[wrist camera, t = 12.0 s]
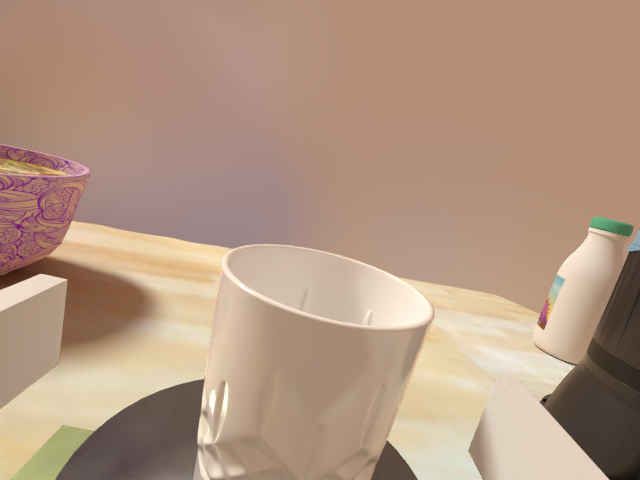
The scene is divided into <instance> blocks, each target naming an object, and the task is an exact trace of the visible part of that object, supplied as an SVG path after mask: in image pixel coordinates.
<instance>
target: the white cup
mask: <svg viewBox="0 0 640 480" xmlns="http://www.w3.org/2000/svg"><path fill="white" fill-rule="evenodd" d="M433 319H434V309H433V306H432V304H431V303H430V301H429V300H428V299H427V298H426V297H425V296H424V295H423V294H422V293H421V292H419V291H418V290H417V289H415V288H414V287H413V286H411V285H410V284H408V283H406V282H405V281H403V280H401V279H399V278H397V277H395V276H393V275H391V274H389V273H387V272H385V271H382V270H380V269H378V268H376V267H373V266H371V265H368V264H365V263H362V262H359V261H356V260H353V259H350V258H347V257H344V256H340V255H336V254H332V253H328V252H324V251H320V250H315V249H309V248H303V247H296V246H289V245H275V244H258V245H248V246H242V247H238V248H235V249H232V250H230V251H229V252H227V253H226V254H225V255H224V256H223V258H222V261H221V267H220V274H219V281H218V288H217V295H216V302H215V309H214V316H213V322H212V329H211V335H210V342H209V349H208V355H207V362H206V369H205V380H204V388H203V395H202V405H201V411H200V419H199V427H198V437H197V445H198V451H197V458H196V464H195V470H194V477H193V480H370V479H371V477H372V474H373V472H374V469H375V467H376V464H377V462H378V459H379V457H380V455H381V452H382V450H383V448H384V446H385V443H386V441H387V439H388V436H389V434H390V431H391V428H392V426H393V423H394V421H395V418H396V415H397V413H398V410H399V407H400V405H401V402H402V399H403V397H404V394H405V391H406V389H407V386H408V384H409V381H410V378H411V376H412V373H413V370H414V368H415V365H416V363H417V360H418V357H419V355H420V352H421V350H422V347H423V344H424V342H425V339H426V337H427V334H428V332H429V329H430V326H431V324H432V321H433Z"/></svg>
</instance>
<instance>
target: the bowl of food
mask: <svg viewBox="0 0 640 480" xmlns="http://www.w3.org/2000/svg"><path fill="white" fill-rule="evenodd" d="M89 175H90V169H88V168H86V167H85V166H83V165H81V164H79V163H76V162H73V161H70V160H67V159H64V158H60V157H56V156H53V155H49V154H45V153H41V152H36V151H32V150H27V149H22V148H18V147H13V146H8V145H2V144H0V276H2V275H5V274H7V273H9V272H11V271H12V270H15V269H18V268H22V267H25V266H27V265H30V264H32V263H35V262H37V261H40V260H41V259H43V258H45V257H46V256H48V255H49V254H51V253H52V252H53V251H54V250H55V249H56V248H57V247H58V246H59V245H60V244H61V243H62V241H63V239H64V237H65V235H66V233H67V231H68V228H69V226H70V224H71V221H72V219H73V216H74V214H75V212H76V209H77V206H78V203H79V201H80V198H81V196H82V194H83V191H84V189H85V186H86V183H87V180H88V178H89Z"/></svg>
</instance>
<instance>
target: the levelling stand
mask: <svg viewBox="0 0 640 480" xmlns="http://www.w3.org/2000/svg"><path fill="white" fill-rule="evenodd" d="M204 380H205V379H203V380H196V381H192V382H188V383H183V384H179V385H176V386H173V387H170V388H167V389H164V390H161V391H159V392H156V393H154V394H152V395H149V396H147V397H145V398H143V399H141V400H139V401H137V402H135V403H134V404H132V405H130V406H128V407H126V408H125V409H123V410H122V411H120V412H119V413H117V414H116V415H115V416H113V417H112V418H110V419H109V420H107V421H106V422H105V423H104V424H103V425H102V426H100V427H99V428H98V429H97V430H96V431H90V430H85V429H80V428H75V427H70V426H64V425H62V426H61V427H60V428H59V429H58V430H57V432H56V433H55V434H54V435H53V436H52V437H51V438H50V439H49V440H48V441H47V442H46V443H45V444H44V445H43V446H42V447H41V448H40V449H39V450H38V452H37V453H36V454H35V455H34V456H33V457H32V458H31V459H30V460H29V461H28V462H27V463H26V464H25V465H24V466H23V467H22V468H21V469H20V470H19V472H18V473H17V474H16V475H15V476H14V477H13V478H12V479H11V480H193V477H194V470H195V464H196V458H197V451H198V445H197V437H198V427H199V419H200V411H201V405H202V395H203V388H204ZM370 480H418V479H417V478H416V476H415V474H414V473H413V471H412V470H411V468H410V467H409V465H408V464H407V463H406V461H405V460H404V459H403V458H402V456H401V455H400V454H399V453H398V451H397V450H396V449H395V448H394V447H393V446H392V445H391V444H390V443H389V442H388V441H386V443H385V446H384V448H383V450H382V452H381V455H380V457H379V459H378V462H377V464H376V467H375V469H374V472H373V474H372V477H371V479H370Z"/></svg>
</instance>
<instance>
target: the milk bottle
mask: <svg viewBox="0 0 640 480" xmlns="http://www.w3.org/2000/svg"><path fill="white" fill-rule="evenodd" d="M591 227H593V228H591ZM595 228H597V229H595ZM599 229H601V230H599ZM603 230H605V231H603ZM588 231H589V234H588V237H587V238H586V240H585V241H584V242H583V244H582V245H581V246H580V247H579V248H578V249H577V250H576V251H575V252H574V253H572V254H571V255H570V256H569V257H568V258H567V259H566V260H565V262H564V263H563V264H562V266H561V268H560V269H559V271H558V273H557V276H556V278H555V280H554V282H553V285H552V288H551V290H550V292H549V295H548V297H547V300H546V303H545V305H544V308H543V310H542V312H541V315H540V318H539V320H538V323H537V325H536V328H535V330H534V333H533V336H532V341H533V343H534V344H535V345H536V346H537V347H539V348H540V349H541V350H543V351H545V352H546V353H548V354H550V355H552V356H554V357H556V358H559V359H561V360H564V361H566V362H569V363H573V364H577V365H578V364H579V362H580V361H581V360H582V359H583V357H584V355H585V353H586V351H587V349H588V346H589V344H590V342H591V339H592V337H593V334H594V332H595V330H596V328H597V325H598V323H599V321H600V319H601V316H602V314H603V312H604V310H605V307H606V305H607V303H608V301H609V298H610V296H611V294H612V292H613V289H614V287H615V285H616V282H617V280H618V278H619V275H620V273H621V271H622V268H623V259H622V256H623V255H622V254H623V246H624V244H625V242H626V241H628V238H629V237H627V236H630V235H631V233H632V231H633V226H632V225H630V224H626V223H622V222H618V221H614V220H610V219H605V218H600V217H594V218H593V219H592V221H591V224H590V228H589V230H588ZM607 231H609V232H607ZM611 232H613V233H611ZM615 233H617V234H615ZM619 234H621V235H619ZM623 235H625V236H623Z"/></svg>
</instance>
